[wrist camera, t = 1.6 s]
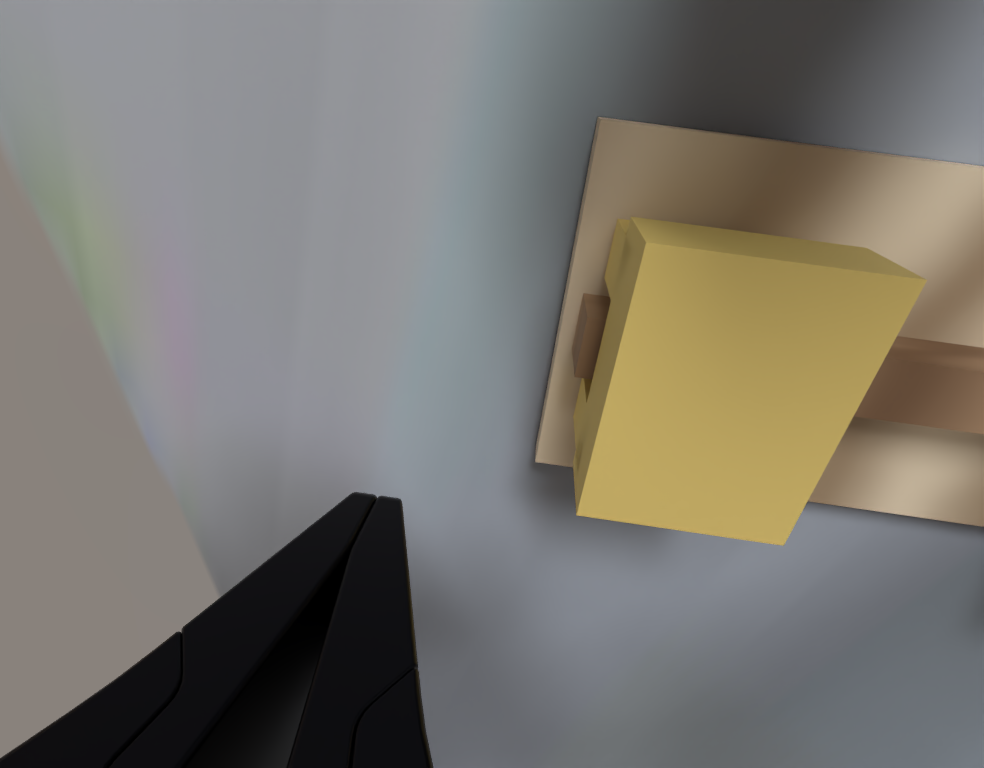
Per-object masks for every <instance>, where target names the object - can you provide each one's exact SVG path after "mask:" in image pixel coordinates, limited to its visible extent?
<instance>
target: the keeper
mask: <svg viewBox="0 0 984 768" xmlns="http://www.w3.org/2000/svg"><path fill="white" fill-rule="evenodd" d="M604 278H605V281H606V285H607V288H608V292H609V296H610V299H611V302H610V307H609V311H608V315H607V319H606V324H605V328H604V332H603V336H602V341H601V345H600V349H599V353H598V358H597V362H596V366H595V370H594V375H593V379H585V378H582V380H581V384H580V389H579V393H578V398H577V402H576V406H575V411H574V415H573V419H574V433H575V446H576V451H575V455H574V460H573V471H574V486H575V502H576V515H578V516H585V517H591V518H598V519H605V520H612V521H619V522H625V523H632V524H639V525H646V526H653V527H660V528H666V529H673V530H680V531H687V532H694V533H701V534H707V535H714V536H721V537H728V538H735V539H742V540H748V541H755V542H762V543H769V544H776V545H782V546H784V544H785V542H786V540H787V538H788V537H789V535H790V533H791V531H792V529H793V527H794V525H795V524H796V522H797V520H798V518H799V516H800V514H801V512H802V511H803V509H804V507H805V505H806V503H807V501H808V500H809V498H810V496H811V494H812V492H813V490H814V488H815V487H816V485H817V483H818V481H819V479H820V477H821V476H822V474H823V472H824V470H825V468H826V466H827V464H828V463H829V461H830V459H831V457H832V455H833V453H834V452H835V450H836V448H837V446H838V444H839V442H840V440H841V439H842V437H843V435H844V433H845V431H846V429H847V427H848V426H849V424H850V422H851V420H852V418H853V416H854V415H855V413H856V411H857V409H858V407H859V405H860V403H861V402H862V400H863V398H864V396H865V394H866V392H867V391H868V389H869V387H870V385H871V383H872V381H873V379H874V378H875V376H876V374H877V372H878V370H879V368H880V367H881V365H882V363H883V361H884V359H885V357H886V355H887V354H888V352H889V350H890V348H891V346H892V344H893V342H894V341H895V339H896V337H897V335H898V333H899V331H900V330H901V328H902V326H903V324H904V322H905V320H906V318H907V317H908V315H909V313H910V311H911V309H912V307H913V306H914V304H915V302H916V300H917V298H918V296H919V294H920V293H921V291H922V289H923V287H924V285H925V283H926V281H927V280H926V279H924V278H922V277H921V276H919V275H917V274H915V273H913V272H911V271H909V270H907V269H906V268H904V267H902V266H900V265H898V264H896V263H894V262H892V261H891V260H889V259H887V258H885V257H883V256H881V255H879V254H877V253H876V252H874V251H872V250H870V249H868V248H864V247H857V246H849V245H842V244H834V243H827V242H819V241H812V240H804V239H797V238H789V237H782V236H774V235H767V234H759V233H751V232H744V231H736V230H729V229H721V228H714V227H706V226H699V225H691V224H684V223H676V222H669V221H661V220H654V219H646V218H638V217H631V218H630V220H625V219H617V223H616V228H615V232H614V237H613V241H612V246H611V250H610V255H609V259H608V263H607V268H606V272H605V277H604Z"/></svg>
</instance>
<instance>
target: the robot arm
mask: <svg viewBox="0 0 984 768" xmlns="http://www.w3.org/2000/svg"><path fill="white" fill-rule="evenodd" d="M0 768H433V763H432V758H431V753H430V749H429V744H428V739H427V734H426V728H425V720H424V713H423V706H422V698H421V689H420V679H419V671H418V661H417V650H416V640H415V630H414V620H413V609H412V599H411V589H410V579H409V568H408V558H407V548H406V538H405V527H404V517H403V507H402V501H401V499H399V498H393V497H387V496H379V497H378V498H377V497H376V496H375V495H373V494H366V493H360V492H354V493H352V494H350V495H349V496H348V497H346V498H345V499H344V500H343V501H341V502H340V503H339V504H338V505H336V506H335V507H334V508H333V509H331V510H330V511H329V512H328V513H326V514H325V515H324V516H322V517H321V518H320V519H319V520H317V521H316V522H315V523H314V524H312V525H311V526H310V527H309V528H307V529H306V530H305V531H304V532H302V533H301V534H300V535H299V536H297V537H296V538H295V539H293V540H292V541H291V542H290V543H288V544H287V545H286V546H285V547H283V548H282V549H281V550H280V551H278V552H277V553H276V554H275V555H273V556H272V557H271V558H270V559H268V560H267V561H266V562H264V563H263V564H262V565H261V566H259V567H258V568H257V569H256V570H254V571H253V572H252V573H251V574H249V575H248V576H247V577H246V578H244V579H243V580H242V581H241V582H239V583H238V584H237V585H236V586H234V587H233V588H232V589H230V590H229V591H228V592H227V593H225V594H224V595H223V596H222V597H220V598H219V599H218V600H217V601H215V602H214V603H213V604H212V605H210V606H209V607H208V608H207V609H205V610H204V611H203V612H202V613H200V614H199V615H198V616H196V617H195V618H194V619H193V620H191V621H190V622H189V623H188V624H186V625H185V626H184V627H183V628H182V633H181V632H176V633H175V634H173V635H172V636H171V637H170V638H169V639H167V640H166V641H165V642H163V643H162V644H161V645H160V646H158V647H157V648H156V649H155V650H153V651H152V652H151V653H149V654H148V655H147V656H145V657H144V658H143V659H141V660H140V661H139V662H137V663H136V664H135V665H133V666H132V667H131V668H130V669H128V670H127V671H126V672H124V673H123V674H122V675H120V676H119V677H118V678H116V679H115V680H114V681H112V682H111V683H109V684H108V685H106V686H105V687H104V688H102V689H101V690H99V691H98V692H97V693H95V694H94V695H92V696H91V697H89V698H88V699H87V700H85V701H84V702H83V703H81V704H79V705H78V706H77V707H75V708H74V709H72V710H71V711H69V712H68V713H66V714H65V715H64V716H62V717H61V718H59V719H58V720H56V721H55V722H53V723H52V724H50V725H49V726H47V727H46V728H44V729H43V730H41V731H40V732H38V733H37V734H35V735H34V736H33V737H31V738H30V739H28V740H27V741H25V742H24V743H22V744H21V745H19V746H18V747H16V748H15V749H13V750H12V751H10V752H9V753H7V754H6V755H4V756H3V757H2V758H0Z"/></svg>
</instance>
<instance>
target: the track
mask: <svg viewBox="0 0 984 768" xmlns="http://www.w3.org/2000/svg"><path fill="white" fill-rule="evenodd" d="M631 217H638V218H646V219H654V220H661V221H669V222H676V223H684V224H691V225H699V226H706V227H714V228H721V229H729V230H736V231H744V232H751V233H759V234H767V235H774V236H782V237H789V238H797V239H804V240H812V241H819V242H827V243H834V244H842V245H849V246H857V247H864V248H868V249H870V250H872V251H874V252H876V253H877V254H879V255H881V256H883V257H885V258H887V259H889V260H891V261H892V262H894V263H896V264H898V265H900V266H902V267H904V268H906V269H907V270H909V271H911V272H913V273H915V274H917V275H919V276H921V277H922V278H924V279H926V280H927V281H926V283H925V285H924V287H923V289H922V291H921V293H920V294H919V296H918V298H917V300H916V302H915V304H914V306H913V307H912V309H911V311H910V313H909V315H908V317H907V318H906V320H905V322H904V324H903V326H902V328H901V330H900V331H899V333H898V335H897V337H896V339H895V341H894V342H893V344H892V346H891V348H890V350H889V352H888V354H887V355H886V357H885V359H884V361H883V363H882V365H881V367H880V368H879V370H878V372H877V374H876V376H875V378H874V379H873V381H872V383H871V385H870V387H869V389H868V391H867V392H866V394H865V396H864V398H863V400H862V402H861V403H860V405H859V407H858V409H857V411H856V413H855V415H854V416H853V418H852V420H851V422H850V424H849V426H848V427H847V429H846V431H845V433H844V435H843V437H842V439H841V440H840V442H839V444H838V446H837V448H836V450H835V452H834V453H833V455H832V457H831V459H830V461H829V463H828V464H827V466H826V468H825V470H824V472H823V474H822V476H821V477H820V479H819V481H818V483H817V485H816V487H815V488H814V490H813V492H812V494H811V496H810V498H809V500H808V501H809V502H816V503H823V504H830V505H837V506H844V507H851V508H858V509H865V510H872V511H879V512H886V513H893V514H899V515H906V516H913V517H920V518H927V519H934V520H941V521H948V522H955V523H962V524H969V525H976V526H983V527H984V166H978V165H970V164H962V163H954V162H946V161H939V160H931V159H923V158H915V157H908V156H900V155H892V154H884V153H876V152H869V151H861V150H853V149H845V148H838V147H830V146H822V145H814V144H806V143H799V142H791V141H783V140H775V139H767V138H760V137H752V136H744V135H736V134H729V133H721V132H713V131H705V130H697V129H690V128H682V127H674V126H666V125H659V124H651V123H643V122H635V121H627V120H620V119H612V118H604V117H598V118H597V124H596V129H595V134H594V140H593V145H592V150H591V156H590V161H589V166H588V172H587V177H586V182H585V188H584V193H583V198H582V204H581V209H580V214H579V219H578V225H577V230H576V235H575V241H574V246H573V251H572V257H571V262H570V267H569V273H568V278H567V283H566V289H565V294H564V299H563V305H562V310H561V315H560V321H559V326H558V331H557V337H556V342H555V347H554V353H553V358H552V363H551V369H550V374H549V379H548V385H547V390H546V395H545V401H544V406H543V411H542V417H541V422H540V427H539V432H538V438H537V443H536V457H535V462H539V463H546V464H553V465H560V466H567V467H573V460H574V455H575V451H576V446H575V433H574V419H573V415H574V411H575V406H576V402H577V398H578V393H579V389H580V384H581V380H582V378H585V379H593V375H594V370H595V366H596V362H597V358H598V353H599V349H600V345H601V341H602V336H603V332H604V328H605V324H606V319H607V315H608V311H609V307H610V302H611V299H610V296H609V292H608V288H607V285H606V281H605V278H604V277H605V272H606V268H607V263H608V259H609V255H610V250H611V246H612V241H613V237H614V232H615V228H616V223H617V219H625V220H630V218H631Z"/></svg>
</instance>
